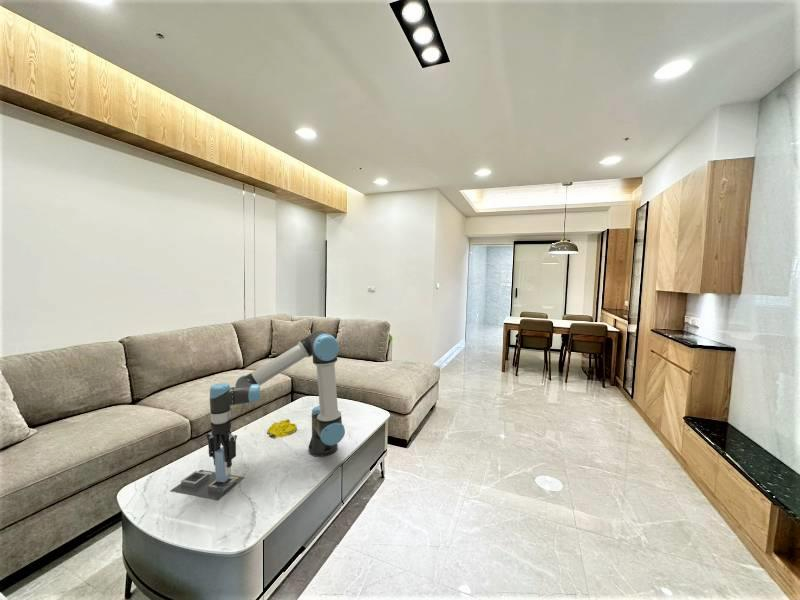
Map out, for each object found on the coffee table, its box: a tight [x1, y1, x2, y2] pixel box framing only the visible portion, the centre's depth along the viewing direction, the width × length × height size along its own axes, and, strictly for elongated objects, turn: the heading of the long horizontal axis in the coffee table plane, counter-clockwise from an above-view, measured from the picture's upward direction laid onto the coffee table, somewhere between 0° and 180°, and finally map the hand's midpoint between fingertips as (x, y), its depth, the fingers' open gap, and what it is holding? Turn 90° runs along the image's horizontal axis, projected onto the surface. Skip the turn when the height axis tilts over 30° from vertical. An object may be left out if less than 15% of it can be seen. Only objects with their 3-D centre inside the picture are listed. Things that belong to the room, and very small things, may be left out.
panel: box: [170, 469, 246, 501], centre depth 143 cm, size 24×16×3 cm, turn 77°
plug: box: [214, 446, 232, 482], centre depth 141 cm, size 4×5×13 cm
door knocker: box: [266, 419, 297, 439], centre depth 196 cm, size 16×16×4 cm
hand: (223, 473), depth 141 cm, fingers closed on plug, 4 cm apart
